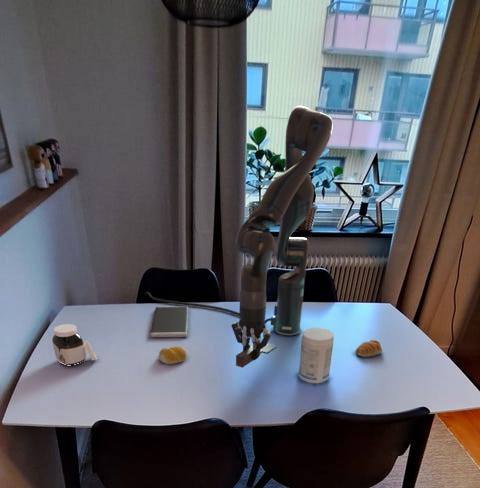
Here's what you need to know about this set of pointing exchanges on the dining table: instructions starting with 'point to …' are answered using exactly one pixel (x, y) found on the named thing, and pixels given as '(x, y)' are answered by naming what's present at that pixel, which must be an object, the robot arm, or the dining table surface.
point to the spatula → (246, 355)
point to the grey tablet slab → (170, 322)
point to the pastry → (369, 348)
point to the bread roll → (172, 355)
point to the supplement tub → (315, 355)
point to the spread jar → (70, 346)
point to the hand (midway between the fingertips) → (250, 357)
